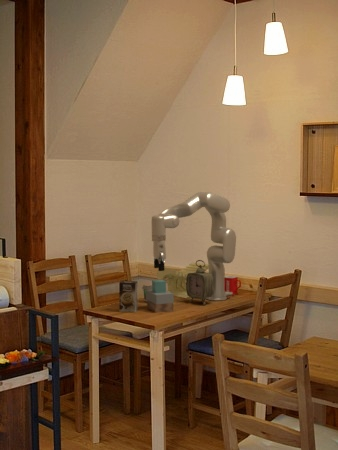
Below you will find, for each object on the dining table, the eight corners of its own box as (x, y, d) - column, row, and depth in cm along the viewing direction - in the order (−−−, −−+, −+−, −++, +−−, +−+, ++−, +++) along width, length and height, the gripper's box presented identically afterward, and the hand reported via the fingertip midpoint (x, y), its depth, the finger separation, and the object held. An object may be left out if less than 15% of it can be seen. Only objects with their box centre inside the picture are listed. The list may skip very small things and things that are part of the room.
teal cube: (162, 290, 366) (162, 279, 366) (165, 292, 361) (165, 281, 360) (152, 291, 364) (152, 280, 364) (155, 293, 359) (155, 282, 358)
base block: (164, 306, 372) (164, 297, 372) (173, 312, 357) (173, 303, 357) (147, 307, 369) (147, 298, 369) (155, 313, 354) (155, 304, 354)
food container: (145, 304, 377) (145, 286, 376) (142, 302, 382) (142, 285, 381) (166, 302, 381) (166, 285, 380) (162, 300, 387) (162, 283, 386)
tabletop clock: (186, 302, 380) (186, 259, 378) (196, 300, 387) (196, 258, 385) (204, 306, 370) (205, 262, 368) (215, 304, 377) (215, 260, 375)
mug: (220, 294, 406) (220, 277, 405) (227, 292, 413) (227, 275, 412) (237, 296, 399) (237, 279, 398) (244, 294, 406) (244, 277, 405)
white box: (162, 297, 372) (162, 288, 372) (173, 302, 357) (173, 293, 357) (145, 299, 368) (145, 290, 368) (156, 304, 353) (156, 295, 353)
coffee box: (118, 312, 356) (118, 282, 355) (121, 309, 362) (121, 280, 361) (135, 312, 355) (135, 282, 353) (137, 310, 361) (137, 280, 360)
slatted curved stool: (190, 289, 421) (190, 262, 420) (209, 293, 410) (209, 264, 409) (157, 296, 400) (157, 267, 398) (176, 299, 389) (176, 269, 387)
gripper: (169, 239, 352) (170, 271, 354) (161, 236, 369) (161, 266, 371) (155, 240, 350) (156, 272, 352) (148, 236, 367) (148, 267, 369)
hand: (159, 269), depth 361 cm, fingers open, 9 cm apart
